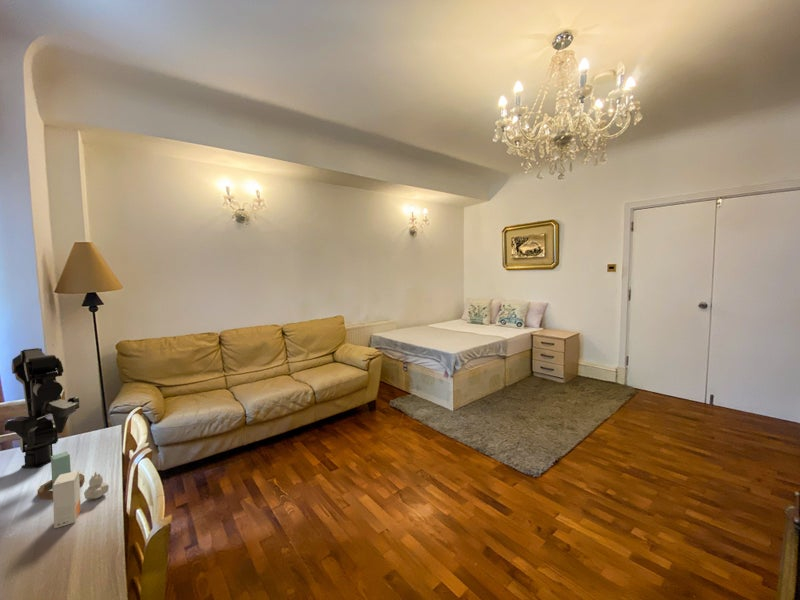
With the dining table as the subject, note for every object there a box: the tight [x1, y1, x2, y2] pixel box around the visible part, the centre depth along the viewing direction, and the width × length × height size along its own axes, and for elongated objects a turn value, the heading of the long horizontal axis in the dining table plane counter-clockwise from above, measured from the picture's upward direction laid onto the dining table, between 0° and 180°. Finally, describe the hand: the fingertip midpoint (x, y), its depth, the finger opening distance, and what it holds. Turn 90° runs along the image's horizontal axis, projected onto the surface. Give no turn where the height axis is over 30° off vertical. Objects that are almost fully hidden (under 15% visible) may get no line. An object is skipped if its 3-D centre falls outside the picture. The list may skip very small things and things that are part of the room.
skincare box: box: [52, 470, 82, 529], centre depth 90 cm, size 6×4×12 cm
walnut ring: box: [36, 473, 85, 500], centre depth 104 cm, size 10×10×2 cm
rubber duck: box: [83, 471, 109, 500], centre depth 99 cm, size 5×7×8 cm
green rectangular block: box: [50, 450, 72, 488], centre depth 104 cm, size 4×4×11 cm
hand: (46, 439), depth 110 cm, fingers open, 9 cm apart
